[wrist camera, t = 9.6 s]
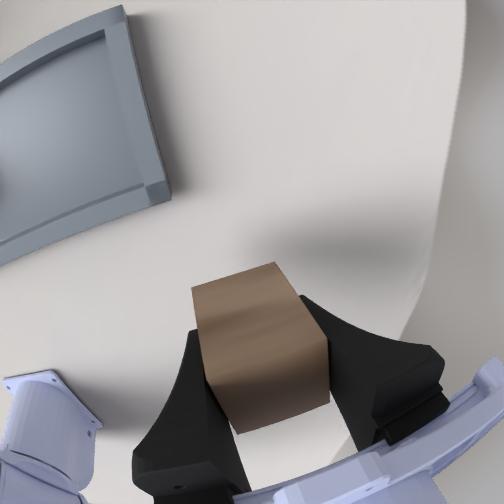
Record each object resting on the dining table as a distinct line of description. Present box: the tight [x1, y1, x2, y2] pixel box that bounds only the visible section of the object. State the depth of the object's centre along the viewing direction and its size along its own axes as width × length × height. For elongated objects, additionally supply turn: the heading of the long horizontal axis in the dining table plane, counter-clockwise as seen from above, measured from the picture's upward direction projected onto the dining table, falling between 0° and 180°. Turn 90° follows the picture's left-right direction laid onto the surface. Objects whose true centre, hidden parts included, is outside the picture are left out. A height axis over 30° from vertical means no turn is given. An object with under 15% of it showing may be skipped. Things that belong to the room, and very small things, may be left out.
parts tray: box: [0, 5, 172, 266], centre depth 13 cm, size 12×20×2 cm, turn 102°
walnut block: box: [191, 262, 330, 435], centre depth 12 cm, size 4×4×6 cm
